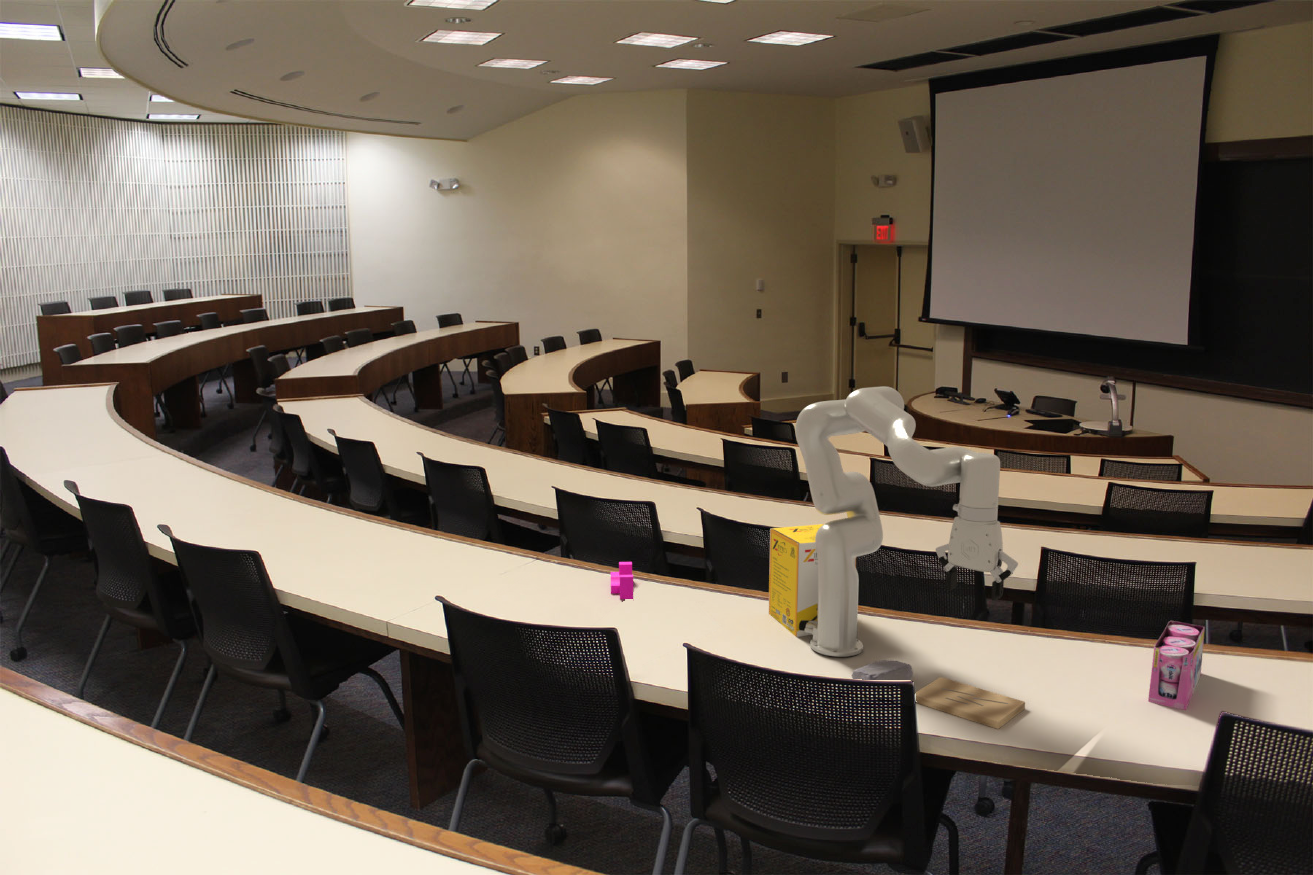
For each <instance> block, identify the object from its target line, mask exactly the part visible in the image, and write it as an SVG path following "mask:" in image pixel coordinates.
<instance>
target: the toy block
mask: <svg viewBox="0 0 1313 875" xmlns="http://www.w3.org/2000/svg"><path fill="white" fill-rule="evenodd" d="M610 594H619V600H624V599H633V600H634V574H633V562H632V561H619V562H618V571H610Z"/></svg>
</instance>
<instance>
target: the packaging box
mask: <svg viewBox="0 0 1313 875" xmlns="http://www.w3.org/2000/svg"><path fill="white" fill-rule="evenodd" d="M824 524H825V523H820V524H819V523H818V524H808V525H796V526H793V525H792V526H785V527H784V526H783V527H772V528H770V529H769V533H770V534H769V575H768V578H769V579H768V580H769V581H768V615H770V616H771V617H772V618H773V619H774V620H775V621H777V623H778V624H780V625H781V626H783V627H784V628H785V629H786V630H787V631H788V632H790V633H791V634H792V635H793V636H794V637H795V638H799V637H804V636H805V637H806V636H811V635H812V634H809V633H806V632H805V628H806V624H807V623H808V622H810V623H814V624H816V625H817V613H818V558H817V552H816V546H815V536H816V533H817V531H818V529H819V528H820V527H821V526H822V525H824ZM853 563H854V566H855V568H856V569H857V557H855V558H853Z"/></svg>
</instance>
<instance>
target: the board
mask: <svg viewBox="0 0 1313 875" xmlns="http://www.w3.org/2000/svg"><path fill="white" fill-rule="evenodd" d="M915 692H916V701H917V703H916V704H918V705H922V706H925V707H928V708H931V709H935V710H936V711H937V710H938V711H941V712H944V713H947V714H950V715H954V716H955V717H956V716H957V717H959V718H963V719H965V720H969V721H972V722H974V723H978V724H980V725H981V724H982V725H984V726H986V727H990V728H994V729H997V730H999V729H1001V727H1003V726H1004V725H1005V724H1007V723H1008V722H1010V720H1012V719H1014V718H1015V717H1016V716H1017V715H1018V714H1019V713H1021V712H1023V711H1024V710H1025V709H1026V702H1025V701H1023V700H1019V699H1017V698H1013V697H1010V696H1007V695H1002V694H1000V693H997V692H993V691H990V690H986V689H982V688H979V687H976V686H972V685H969V684H965V683H962V682H960V681H956V680H952V679H950V678H946V677H942V676H940V677H938V678H937V679H935V680H934V681H932V682H930V683H929V684H926V685H925V686H924V687H921V688H920V689H919V690H917V691H915Z"/></svg>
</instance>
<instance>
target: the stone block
mask: <svg viewBox="0 0 1313 875" xmlns="http://www.w3.org/2000/svg"><path fill="white" fill-rule="evenodd" d="M913 676H914V672H913V667H912V665H911V664H910V663H907V662H902V661H899V660H893V659H892V660H891V659H889V660H886V659H883V660H876V661H873V662H870V663H867V664H865V665H863V666H861V667H858V668H856V669H854V670H853V671H852V673H851V678H852V680H853V679H862V680H911V681H913V680H912V679H913Z"/></svg>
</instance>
